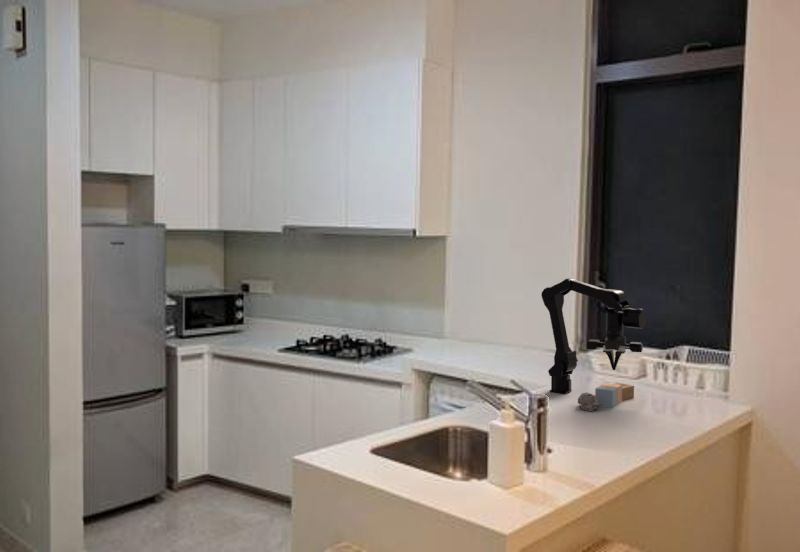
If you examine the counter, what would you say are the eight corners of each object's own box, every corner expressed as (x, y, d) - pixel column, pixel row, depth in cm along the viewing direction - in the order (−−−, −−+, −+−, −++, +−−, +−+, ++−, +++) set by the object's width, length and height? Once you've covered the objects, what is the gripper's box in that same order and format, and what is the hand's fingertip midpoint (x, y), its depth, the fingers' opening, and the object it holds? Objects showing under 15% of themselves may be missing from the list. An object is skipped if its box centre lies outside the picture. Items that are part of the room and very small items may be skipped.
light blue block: (595, 405, 248) (595, 388, 248) (599, 402, 252) (600, 385, 252) (612, 408, 245) (612, 390, 244) (617, 405, 249) (617, 387, 248)
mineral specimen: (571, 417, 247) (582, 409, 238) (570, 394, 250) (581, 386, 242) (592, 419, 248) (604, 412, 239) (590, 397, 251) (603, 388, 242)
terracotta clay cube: (600, 402, 253) (600, 385, 253) (605, 399, 257) (605, 382, 257) (617, 404, 250) (617, 387, 249) (621, 401, 254) (622, 384, 254)
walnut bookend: (602, 398, 260) (602, 385, 260) (617, 394, 266) (617, 382, 265) (619, 401, 254) (619, 389, 254) (633, 398, 260) (634, 385, 260)
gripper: (584, 327, 250) (583, 371, 251) (640, 330, 243) (639, 376, 244) (589, 323, 260) (588, 366, 261) (643, 326, 253) (642, 370, 254)
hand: (613, 369), depth 255 cm, fingers closed
